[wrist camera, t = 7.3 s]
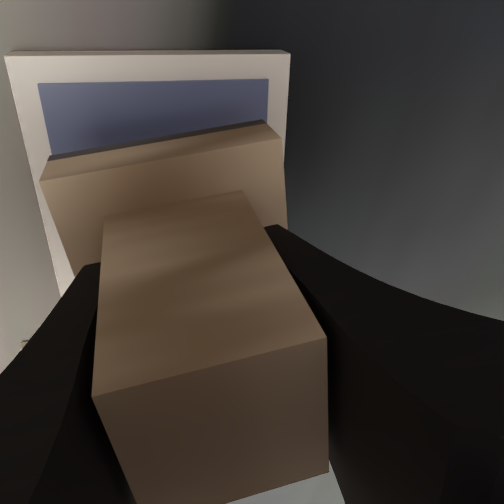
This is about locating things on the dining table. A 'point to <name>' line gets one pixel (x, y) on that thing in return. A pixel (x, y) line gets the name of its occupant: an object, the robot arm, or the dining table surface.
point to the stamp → (195, 313)
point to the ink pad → (136, 103)
